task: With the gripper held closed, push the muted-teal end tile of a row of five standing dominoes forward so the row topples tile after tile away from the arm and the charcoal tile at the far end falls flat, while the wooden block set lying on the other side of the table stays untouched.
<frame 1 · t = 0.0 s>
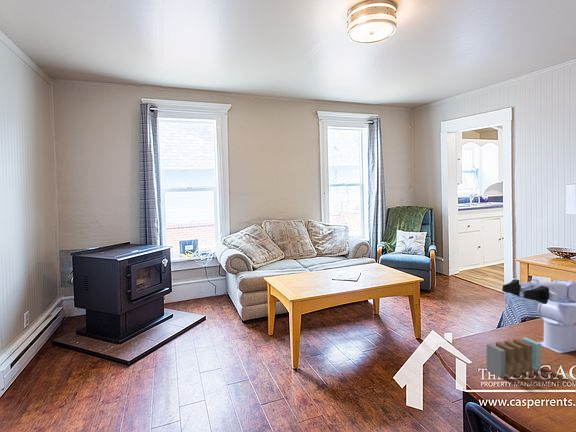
hand: (513, 291, 112), 22 cm above the table, tool horizontal, fingers open, 7 cm apart
domino 5 charcoal: (495, 373, 103), on the table
domino 1 teal: (530, 365, 107), on the table
domino 3: (513, 369, 105), on the table
domino 4: (504, 371, 104), on the table
domino 2: (522, 367, 106), on the table
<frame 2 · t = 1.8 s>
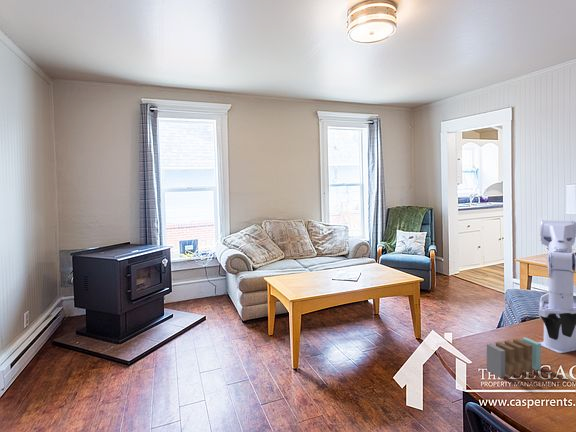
hand: (560, 337, 102), 10 cm above the table, tool pointing down, fingers open, 5 cm apart
nothing on the table moved.
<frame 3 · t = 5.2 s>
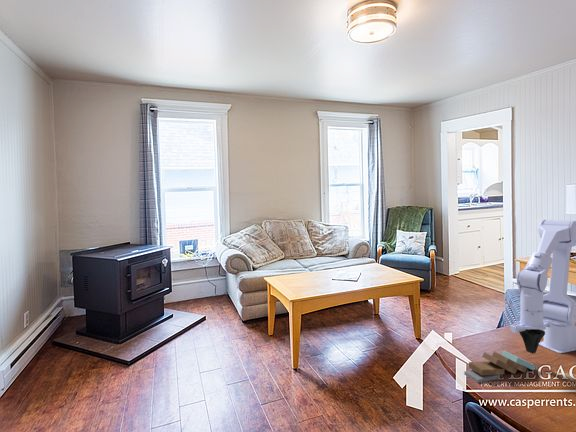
hand: (531, 352, 106), 4 cm above the table, tool pointing down, fingers closed
domino 5 charcoal: (492, 373, 103), on the table, tilted 90°
domino 1 teal: (527, 364, 106), point 1 cm above the table, tilted 62°, touching domino 2
domino 3: (508, 367, 104), point 1 cm above the table, tilted 59°, touching domino 2, domino 4
domino 4: (497, 367, 103), point 1 cm above the table, tilted 83°, touching domino 3
domino 2: (518, 366, 105), point 1 cm above the table, tilted 60°, touching domino 1 teal, domino 3
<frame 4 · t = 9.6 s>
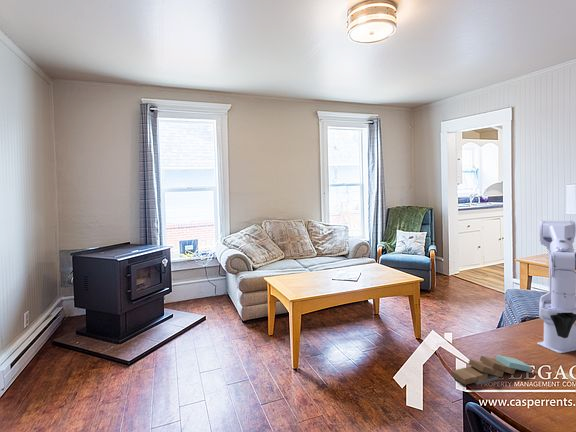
hand: (562, 336, 103), 10 cm above the table, tool pointing down, fingers closed
domino 5 charcoal: (490, 374, 102), on the table, tilted 90°, touching domino 3, domino 4
domino 1 teal: (523, 365, 106), point 1 cm above the table, tilted 72°, touching domino 2
domino 3: (495, 370, 103), point 1 cm above the table, tilted 68°, touching domino 2, domino 5 charcoal
domino 4: (480, 372, 101), point 2 cm above the table, tilted 91°, touching domino 5 charcoal
domino 2: (507, 367, 104), point 1 cm above the table, tilted 68°, touching domino 1 teal, domino 3
at the end: domino 5 charcoal tilted 90°; domino 1 teal tilted 72° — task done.
